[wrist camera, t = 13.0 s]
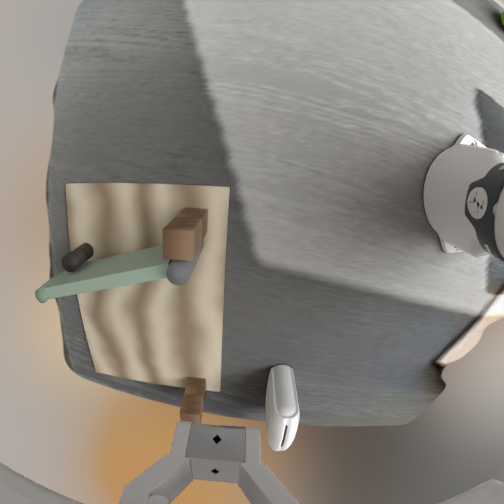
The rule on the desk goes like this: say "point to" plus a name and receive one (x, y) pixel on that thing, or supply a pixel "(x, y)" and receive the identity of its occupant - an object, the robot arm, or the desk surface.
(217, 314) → the gate frame
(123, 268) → the gate
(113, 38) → the desk surface
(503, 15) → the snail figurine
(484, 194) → the robot arm
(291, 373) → the photo printer
